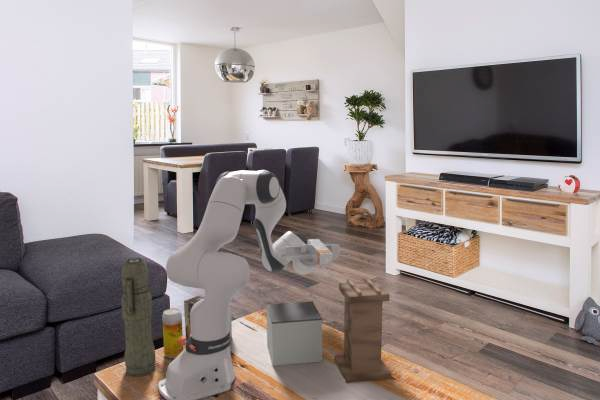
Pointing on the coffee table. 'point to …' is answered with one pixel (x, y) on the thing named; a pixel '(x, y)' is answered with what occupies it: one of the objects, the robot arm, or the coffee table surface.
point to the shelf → (294, 333)
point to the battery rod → (320, 252)
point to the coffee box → (187, 308)
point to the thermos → (137, 318)
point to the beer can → (172, 332)
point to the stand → (362, 332)
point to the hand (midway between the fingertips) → (315, 246)
